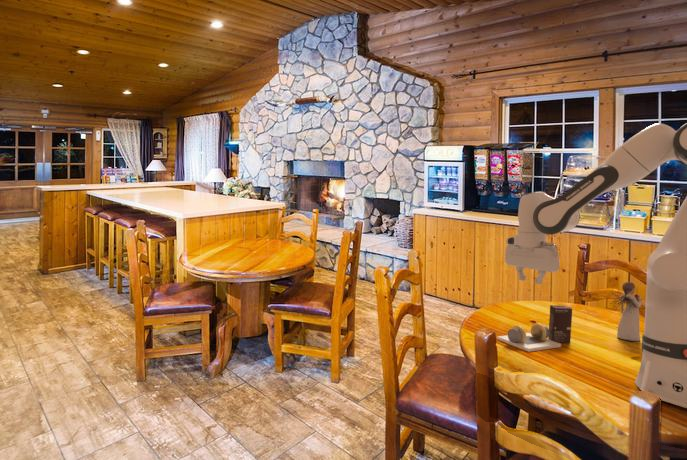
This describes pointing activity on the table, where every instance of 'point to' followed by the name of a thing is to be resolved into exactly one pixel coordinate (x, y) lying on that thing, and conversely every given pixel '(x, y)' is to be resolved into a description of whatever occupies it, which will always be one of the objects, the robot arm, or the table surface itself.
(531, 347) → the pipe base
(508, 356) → the table surface
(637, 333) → the figurine
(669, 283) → the robot arm
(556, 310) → the box
